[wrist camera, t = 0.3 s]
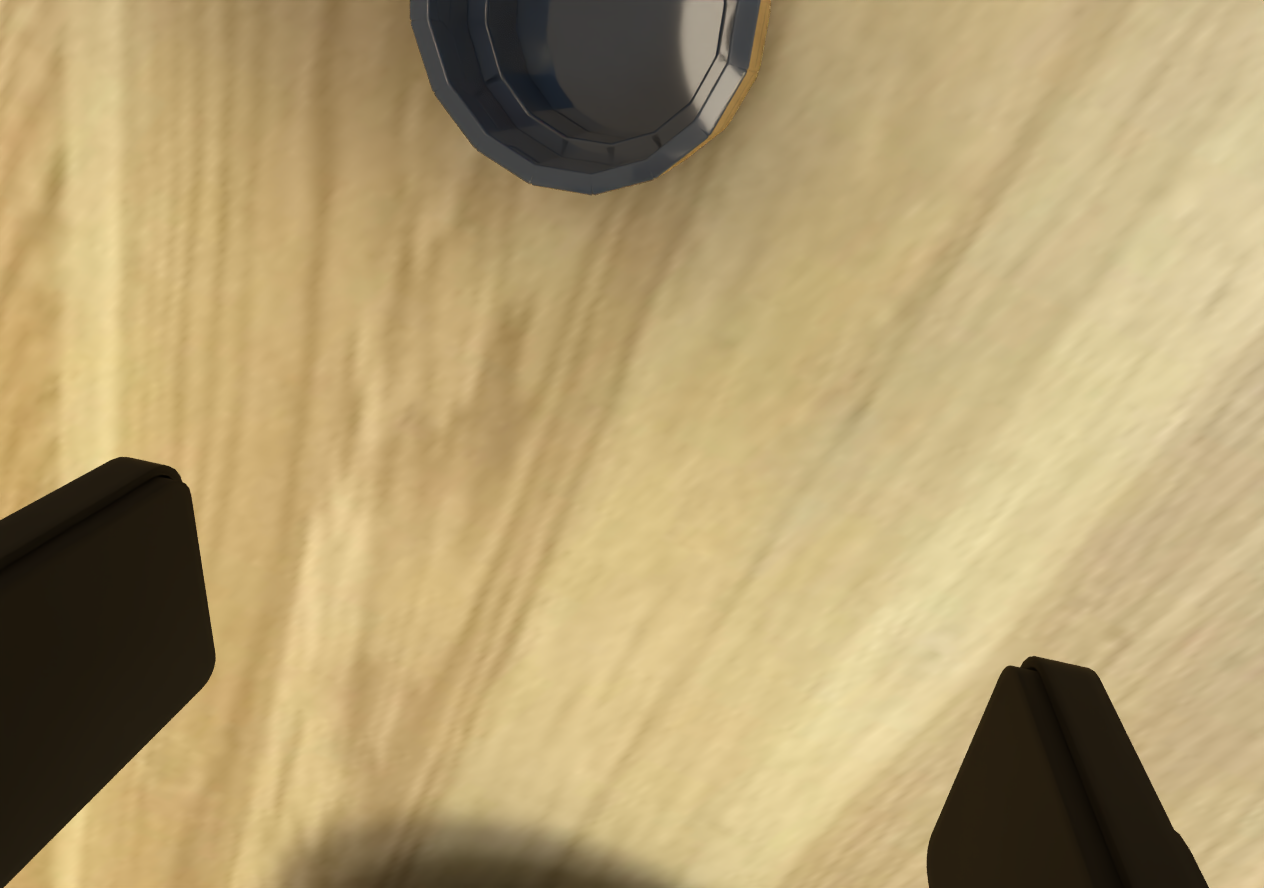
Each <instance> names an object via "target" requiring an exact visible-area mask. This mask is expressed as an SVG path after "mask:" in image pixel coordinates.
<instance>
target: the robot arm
mask: <svg viewBox="0 0 1264 888" xmlns="http://www.w3.org/2000/svg"><path fill="white" fill-rule="evenodd" d="M214 665H215V648H214V642H213V635H212V629H211V622H210V615H209V609H208V602H207V596H206V589H205V583H204V576H203V569H202V563H201V556H200V550H199V543H198V537H197V530H196V523H195V517H194V510H193V504H192V497H191V493H190V490H189V488H188V486H187V485H186V484H185V483H183V482H182V480H181V477H180V475H179V474H178V472H177V471H176V470H175V469H173V468H171V467H169V466H166V465H161V464H157V463H152V462H148V461H143V460H139V459H134V458H130V457H119V458H116V459H113V460H110V461H109V462H107V463H105V464H103V465H101V466H99V467H97V468H96V469H94V470H92V471H90V472H88V473H86V474H85V475H83V476H81V477H79V478H77V479H75V480H74V481H72V482H70V483H68V484H66V485H64V486H63V487H61V488H59V489H57V490H55V491H53V492H52V493H50V494H48V495H46V496H44V497H42V498H40V499H39V500H37V501H35V502H33V503H31V504H29V505H28V506H26V507H24V508H22V509H20V510H18V511H17V512H15V513H13V514H11V515H9V516H7V517H6V518H4V519H2V520H0V888H4V887H5V886H6V885H7V884H8V883H9V882H10V881H11V880H12V879H13V878H14V877H15V876H16V875H17V874H18V873H19V872H20V871H21V870H22V869H23V868H24V867H25V866H26V865H27V864H28V863H29V862H30V860H31V859H32V858H33V857H34V856H35V855H36V854H37V853H38V852H39V851H40V850H41V849H42V848H43V847H44V846H45V845H46V844H47V843H48V842H49V841H50V840H51V839H52V838H53V837H54V836H55V835H56V834H57V833H58V832H59V831H60V830H61V829H62V828H63V827H64V826H65V825H66V824H67V823H68V822H69V821H70V820H71V819H72V818H73V817H74V816H75V815H76V814H77V813H78V812H79V811H80V810H81V809H82V808H83V807H84V806H85V805H86V804H87V803H88V802H89V801H90V800H91V799H92V798H93V797H94V796H95V795H96V794H97V793H98V792H99V791H100V790H101V789H102V788H103V787H104V786H105V785H106V784H107V783H108V782H109V781H110V780H111V779H112V778H113V777H114V776H115V775H116V774H117V773H118V772H119V771H120V770H121V769H122V768H123V767H124V766H125V765H126V764H127V763H128V762H129V761H130V760H131V759H132V758H133V757H134V756H135V755H136V754H137V753H138V752H139V751H140V750H141V749H142V748H143V747H144V746H145V745H146V744H147V743H148V742H149V741H150V740H151V739H152V738H153V737H154V736H155V735H156V734H157V733H158V732H159V731H160V730H161V729H162V728H163V727H164V726H165V725H166V724H167V723H168V722H169V721H170V720H171V719H172V718H173V717H174V716H175V715H176V714H177V713H178V712H179V711H180V710H181V709H182V708H183V707H184V706H185V705H186V704H187V703H188V702H189V701H190V700H191V699H192V698H193V697H194V696H195V695H196V694H197V693H198V692H199V691H200V690H201V689H202V688H203V687H204V685H205V684H206V683H207V682H208V680H209V678H210V676H211V674H212V672H213V669H214ZM927 876H928V883H929V888H1209V887H1208V885H1207V883H1206V881H1205V879H1204V877H1203V875H1202V873H1201V871H1200V869H1199V867H1198V865H1197V863H1196V861H1195V859H1194V857H1193V855H1192V853H1191V851H1190V849H1189V848H1188V846H1187V845H1186V843H1185V842H1184V840H1183V839H1182V837H1181V836H1180V834H1179V833H1177V832H1176V831H1175V830H1174V829H1173V827H1172V825H1171V823H1170V821H1169V818H1168V816H1167V814H1166V812H1165V810H1164V808H1163V806H1162V804H1161V802H1160V800H1159V798H1158V796H1157V794H1156V792H1155V790H1154V788H1153V786H1152V784H1151V782H1150V780H1149V778H1148V776H1147V774H1146V772H1145V770H1144V768H1143V766H1142V764H1141V761H1140V759H1139V757H1138V755H1137V753H1136V751H1135V749H1134V747H1133V745H1132V743H1131V741H1130V739H1129V737H1128V735H1127V733H1126V731H1125V729H1124V727H1123V725H1122V723H1121V721H1120V719H1119V717H1118V715H1117V713H1116V711H1115V709H1114V707H1113V704H1112V702H1111V700H1110V698H1109V696H1108V694H1107V692H1106V690H1105V688H1104V686H1103V684H1102V682H1101V680H1100V678H1099V677H1098V675H1097V674H1096V673H1095V671H1093V670H1091V669H1089V668H1086V667H1081V666H1077V665H1072V664H1068V663H1063V662H1059V661H1054V660H1049V659H1045V658H1040V657H1036V656H1032V657H1028V658H1027V659H1026V660H1025V661H1024V662H1023V663H1022V665H1021V667H1015V666H1007V667H1006V668H1005V669H1004V670H1003V671H1002V673H1001V675H1000V677H999V679H998V681H997V684H996V686H995V688H994V691H993V693H992V695H991V698H990V700H989V702H988V705H987V707H986V709H985V712H984V714H983V716H982V719H981V721H980V723H979V726H978V728H977V730H976V732H975V735H974V737H973V739H972V742H971V744H970V746H969V749H968V751H967V753H966V756H965V758H964V760H963V763H962V765H961V767H960V770H959V772H958V774H957V777H956V779H955V781H954V784H953V786H952V788H951V790H950V793H949V795H948V797H947V800H946V802H945V804H944V807H943V809H942V811H941V814H940V816H939V818H938V821H937V823H936V825H935V828H934V830H933V832H932V835H931V838H930V841H929V845H928V851H927Z"/></svg>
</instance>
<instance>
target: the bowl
mask: <svg viewBox="0 0 1264 888" xmlns="http://www.w3.org/2000/svg"><path fill="white" fill-rule="evenodd" d="M770 6H771V1H770V0H410V20H411V26H412V29H413V32H414V35H415V38H416V41H417V44H418V48H419V51H420V54H421V57H422V60H423V63H424V66H425V69H426V72H427V75H428V78H429V82H430V85H431V88H432V91H433V92H435V93H434V94H435V96H436V97H437V99H438V100H439V102H440V103H441V104H442V106H443V107H444V108H445V110H446V111H447V112H448V114H449V115H450V116H451V118H452V119H453V120H454V122H455V123H456V124H457V126H458V127H459V128H460V130H461V131H462V132H463V134H464V135H465V136H466V138H467V139H468V140H469V142H470V143H471V144H472V146H473V147H474V148H475V149H476V150H477V151H478V152H480V153H481V154H483V155H484V156H486V157H488V158H489V159H491V160H492V161H494V162H495V163H497V164H499V165H500V166H502V167H503V168H505V169H506V170H508V171H509V172H511V173H513V174H514V175H516V176H517V177H519V178H520V179H522V180H524V181H525V182H527V183H528V184H532V185H533V186H539V187H544V188H550V189H556V190H562V191H568V192H574V193H580V194H586V195H598V194H602V193H606V192H610V191H614V190H617V189H621V188H625V187H629V186H633V185H637V184H641V183H644V182H648V181H652V180H654V179H656V178H658V177H660V176H661V175H663V174H664V173H666V172H668V171H669V170H671V169H672V168H674V167H675V166H677V165H678V164H680V163H682V162H683V161H685V160H686V159H687V158H688V157H690V156H691V155H692V154H694V153H695V152H696V151H697V150H699V149H700V148H701V147H703V146H704V145H705V144H706V143H708V142H709V141H710V140H712V139H713V138H714V137H715V136H717V135H718V134H719V133H721V132H722V131H723V130H724V129H725V128H726V127H727V126H728V125H729V123H730V122H731V120H732V118H733V117H734V115H735V113H736V112H737V110H738V108H739V107H740V105H741V103H742V101H743V100H744V98H745V96H746V95H747V93H748V91H749V90H750V88H751V86H752V85H753V83H754V81H755V79H756V78H757V76H758V71H759V69H760V66H761V61H762V55H763V50H764V44H765V39H766V33H767V28H768V23H769V17H770V12H771V11H770Z"/></svg>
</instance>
